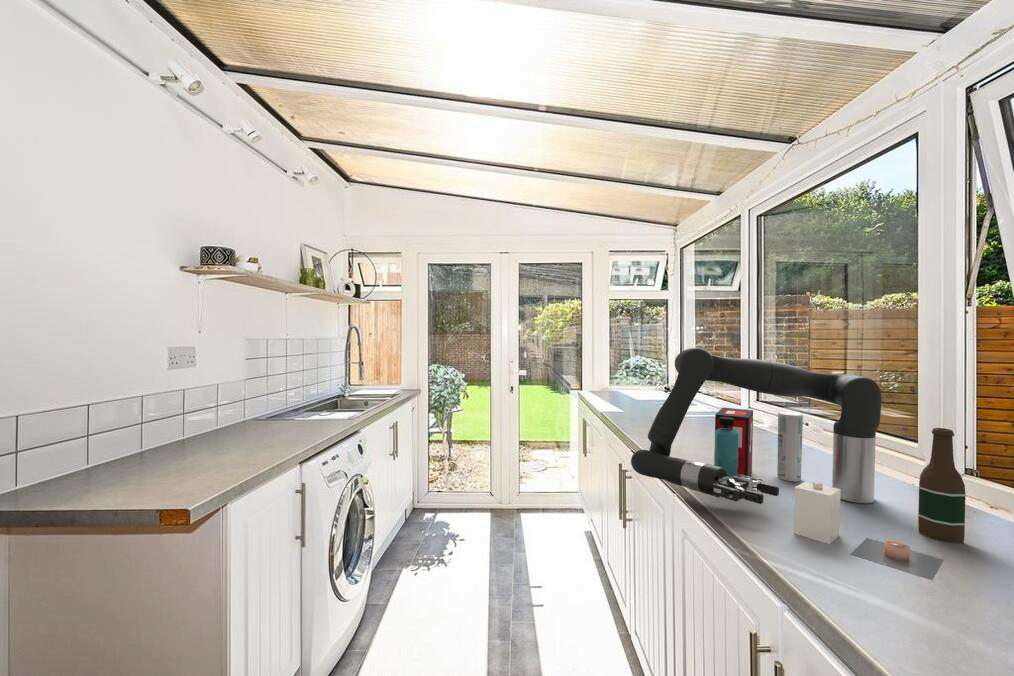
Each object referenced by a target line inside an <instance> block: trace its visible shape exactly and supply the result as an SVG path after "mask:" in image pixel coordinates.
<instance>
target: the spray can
mask: <svg viewBox="0 0 1014 676" xmlns="http://www.w3.org/2000/svg"><path fill="white" fill-rule="evenodd" d="M777 413H778V414H777V465H776V466H777V468H776V470H777V471H776V473H777V478H778V479H781V480H783V481H787V482H800V481H801V480H802V462H803V461H802V458H803V457H802V456H803V429H804V427H803V424H804V422H803V421H804V415H803V414H802V413H798V412H793V411H792V412H790V411H779V412H777Z"/></svg>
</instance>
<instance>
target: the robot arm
mask: <svg viewBox="0 0 1014 676" xmlns="http://www.w3.org/2000/svg"><path fill="white" fill-rule="evenodd" d="M674 368H675V371H676V372H677V373H678V374H677V377H676V380H675V382H674V384H673V387H672V389H671V391H670V393H669V395H668V396H667V398H666V399H665V401H664V402H663V404H662V406H661V407H660V409H659V410H658V412H657V414H656V416H655V418H654V420H653V422H652V425H651V426H650V429H649V430H648V434H647V439H648V440H649V441H650V445H649V446H650V447H649V450H647V449H639V450H637V451H635V452H634V453H633V454H632V455H631V458H630V465H631V467H632V469H633V470H634V471H635V472H636V473H638V474H639V475H642V476H645V477H648V478H649V477H650V478H653V479H654V478H655V479H658V480H663V481H666V482H667V483H671V484H674V485H676V486H681V487H683V488H686V489H689V490H691V491H694V492H698V493H700V494H704V495H708V496H711V497H715V498H724V499H727V500H730V501H733V502H739V500H740V501H741V502H743V501H747V502H751V503H755V504H758V505H762V504H764V494H765V495H766V494H767V495H769V496H774V497H777V496H780V495H779V493H780V492H779V491H780V488H779V486H777V485H773V484H769V483H766V482H764V481H763V479H761V478H757V477H753V476H751V477H749V476H745V475H741V474H738V475H737V476H732V477H729V476H728V475H727V472H726V470H725V469H724V468H722V467H719V466H714V464H709V463H706V462H701V461H694V460H689V459H685V458H679V457H674V456H673V457H672V456H670V455H671V451H672V445H673V443H674V442H675V441H674V440H675V439H676V437H677V434H678V433H679V429H680V428H681V425H682V424H683V421H684V419H685V417H686V415H687V412H688V410H689V409H690V407H691V404H692V402H693V400H694V399H695V397H696V396H697V394H698V392H699V391H700V389H701V388H702V386H703V384H704V383H705V381H711V382H718V383H724V384H728V385H731V386H735V387H737V388H741V389H745V390H749V391H752V392H756V393H761V394H767V395H773V396H779V397H780V396H781V397H788V398H790V397H792V398H794V397H797V398H802V397H803V398H811V399H816V400H820V401H824V402H827V403H830V404H834V405H837V406H839V407H841V410H840V418H839V420H837V421H835V422H834V423H833V427H832V430H833V434H832V468H831V469H832V473H831V476H832V477H831V487H833V488H837V489H841V493H840V500H842V501H847V502H851V503H857V504H873V503H874V502H875V479H876V478H875V477H876V474H875V473H876V439H877V430H878V429H879V427H880V423H881V415H882V414H881V412H882V411H881V410H882V400H883V399H882V390H881V388H880V385H878V383H877V382H876V381H875V380H873V379H872V378H869V377H865V376H861V375H854V374H834V373H826V372H825V373H823V372H815V371H810V370H808V369H805V368H801V367H798V366H794V365H791V364H787V363H784V362H777V361H772V360H767V359H765V360H764V359H759V358H758V359H756V358H755V359H754V358H734V357H732V358H731V357H724V356H718V355H714V354H712V353H710V352H709V351H708V350H706V349H704V348H701V347H692V348H691V347H690V348H686V349H684V350H682V351H680V352H679V354H677V355H676V357H675V358H674ZM754 484H756V485H754Z"/></svg>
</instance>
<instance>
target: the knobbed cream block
mask: <svg viewBox="0 0 1014 676" xmlns="http://www.w3.org/2000/svg"><path fill="white" fill-rule="evenodd" d="M840 493H841V489H837V488H833V487H832V486H828V485H825V484H823V483H821V482H817V481H814V482H809V481H807V480H806V481H804V482H802V483H800V484H798V485H796V486H794V507H793V511H794V512H793V513H794V514H793V515H794V516H793V517H794V518H793V534H795V535H799V536H802V537H806V538H808V539H812V540H815V541H818V542H821V543H824V544H828V545H830V544H832V543H833V542H834V541H835V540H837V539H838V538H839V536H840V533H841V531H840V530H841V529H840V528H841V526H840V525H841V499H840Z"/></svg>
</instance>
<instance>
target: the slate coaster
mask: <svg viewBox="0 0 1014 676" xmlns="http://www.w3.org/2000/svg"><path fill="white" fill-rule="evenodd" d="M849 555H850V556H853V557H857V558H860V559H863V560H867V561H869V562H873V563H877V564H879V565H883V566H885V567H889V568H891V569H894V570H898V571H902V572H905V573H908V574H911V575H914V576H918V577H921V578H924V579H926V580H927V579H928V580H930V581H933V579H934V577H935V576H936V574H937V572H938V571H939V569H940V567H941V565H942V564H943V562H944V559H943V558H940V557H935V556H932V555H930V554H929V555H928V554H925V553H922V552H918V551H915V550H911V549H910V555H909V561H907V562H903V561H897V560H893V559H891V558H888V557H887V556H885V555H884V541H879V540H876V539H873V538H869V537H866V538H864V540H863V541H862V542H861V543H860V544H859V545H858V546H857V547H855V549H853V550H852V552H850V554H849Z"/></svg>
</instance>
